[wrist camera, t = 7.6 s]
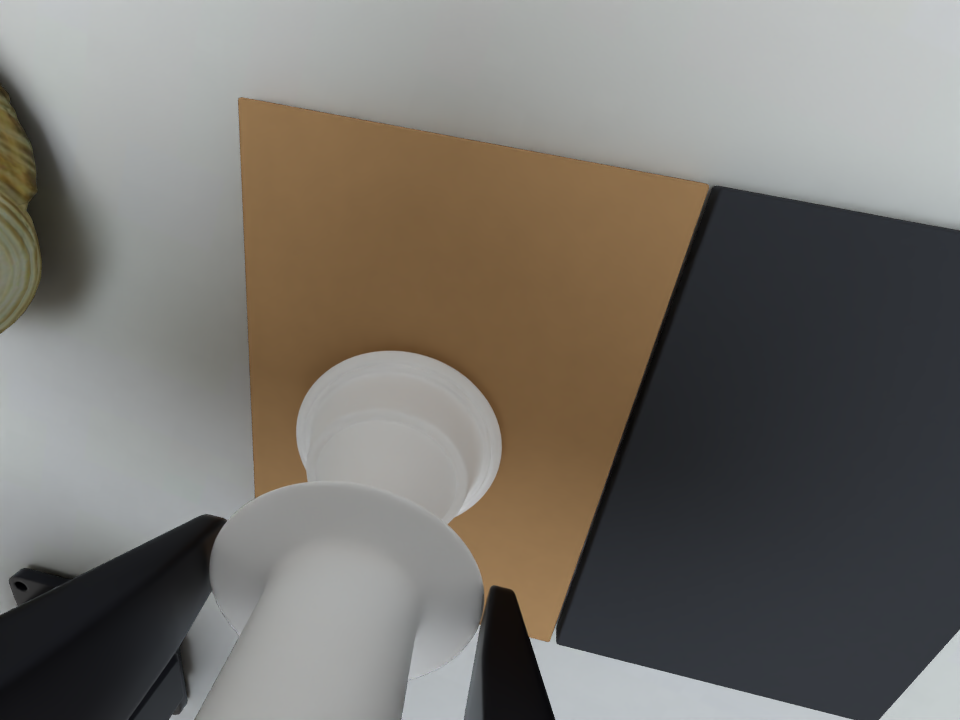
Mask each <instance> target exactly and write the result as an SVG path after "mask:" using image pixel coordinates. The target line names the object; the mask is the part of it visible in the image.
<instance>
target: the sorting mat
mask: <svg viewBox="0 0 960 720" xmlns="http://www.w3.org/2000/svg"><path fill="white" fill-rule="evenodd" d="M238 107H239V131H240V155H241V178H242V202H243V225H244V249H245V272H246V296H247V319H248V343H249V366H250V390H251V414H252V437H253V461H254V484H255V498H257V497H259V496H261V495H263V494H265V493H267V492H270V491H272V490H275V489H278V488H281V487H285V486H289V485H293V484H298V483H304V482H308V480H307V473H306V469H305V467H304V465H303V463H302V460H301V457H300V454H299V451H298V446H297V439H296V425H297V418H298V413H299V410H300V407H301V404H302V402H303V400H304V398H305V396H306V394H307V392H308V391H309V389H310V388H311V387H312V385H313V384H314V383H315V382H316V381H317V380H318V379H319V378H320V377H321V376H322V375H323V374H324V373H325V372H326V371H328V370H329V369H330V368H332V367H333V366H335V365H337V364H339V363H340V362H342V361H344V360H347V359H349V358H352V357H354V356H358V355H361V354H365V353H370V352H377V351H404V352H411V353H416V354H420V355H424V356H427V357H430V358H433V359H436V360H438V361H440V362H443V363H445V364H447V365H449V366H450V367H452V368H454V369H455V370H457V371H458V372H460V373H461V374H463V375H464V376H465V377H466V378H468V379H469V380H470V381H471V382H472V383H473V384H474V385H475V386H476V387H477V388H478V389H479V390H480V391H481V393H482V394H483V395H484V396H485V398H486V399H487V401H488V402H489V404H490V406H491V407H492V409H493V411H494V414H495V416H496V418H497V421H498V424H499V428H500V433H501V440H502V453H501V460H500V465H499V469H498V472H497V474H496V477H495V479H494V481H493V483H492V484H491V486H490V488H489V489H488V490H487V492H486V493H485V494H484V496H483V497H482V498H481V499H480V500H479V501H478V502H477V503H476V504H475V505H473V506H472V507H471V508H469V509H468V510H467V511H465V512H464V513H462V514H460V515H458V516H456V517H454V518H453V519H452V520H451V521H450V522H449V523H448V524H447V525H448V526H450V527H451V528H452V529H453V530H454V531H455V532H456V533H457V535H458V536H459V537H460V538H461V539H462V540H463V542H464V543H465V544H466V546H467V547H468V549H469V550H470V552H471V554H472V555H473V557H474V559H475V561H476V563H477V565H478V568H479V570H480V573H481V577H482V581H483V587H484V609H485V605H486V601H487V597H488V593H489V589H490V587H491V586H493V585H496V586H500V587H504V588H508V589H511V590H513V591H514V593H515V595H516V598H517V601H518V604H519V607H520V610H521V613H522V617H523V620H524V623H525V626H526V629H527V632H528V635H529V637H531V638H535V639H538V640H542V641H546V642H549V641H550V639H551V636H552V633H553V630H554V628H555V625H556V622H557V619H558V616H559V613H560V611H561V608H562V605H563V602H564V599H565V596H566V593H567V591H568V588H569V585H570V582H571V579H572V576H573V574H574V571H575V568H576V565H577V562H578V559H579V556H580V554H581V551H582V548H583V545H584V542H585V539H586V537H587V534H588V531H589V528H590V525H591V522H592V520H593V517H594V514H595V511H596V508H597V505H598V502H599V500H600V497H601V494H602V491H603V488H604V485H605V483H606V480H607V477H608V474H609V471H610V468H611V465H612V463H613V460H614V457H615V454H616V451H617V448H618V446H619V443H620V440H621V437H622V434H623V431H624V428H625V426H626V423H627V420H628V417H629V414H630V411H631V409H632V406H633V403H634V400H635V397H636V394H637V391H638V389H639V386H640V383H641V380H642V377H643V374H644V372H645V369H646V366H647V363H648V360H649V357H650V354H651V352H652V349H653V346H654V343H655V340H656V337H657V335H658V332H659V329H660V326H661V323H662V320H663V317H664V315H665V312H666V309H667V306H668V303H669V300H670V298H671V295H672V292H673V289H674V286H675V283H676V281H677V278H678V275H679V272H680V269H681V266H682V263H683V261H684V258H685V255H686V252H687V249H688V246H689V244H690V241H691V238H692V235H693V232H694V229H695V226H696V224H697V221H698V218H699V215H700V212H701V209H702V207H703V204H704V201H705V198H706V195H707V192H708V189H709V185H708V184H705V183H700V182H695V181H690V180H684V179H679V178H674V177H668V176H663V175H657V174H652V173H647V172H641V171H636V170H631V169H625V168H620V167H614V166H609V165H604V164H598V163H593V162H588V161H582V160H577V159H571V158H566V157H561V156H555V155H550V154H544V153H539V152H534V151H528V150H523V149H518V148H512V147H507V146H501V145H496V144H491V143H485V142H480V141H475V140H469V139H464V138H458V137H453V136H448V135H442V134H437V133H431V132H426V131H421V130H415V129H410V128H405V127H399V126H394V125H388V124H383V123H378V122H372V121H367V120H362V119H356V118H351V117H345V116H340V115H335V114H329V113H324V112H318V111H313V110H308V109H302V108H297V107H292V106H286V105H281V104H275V103H270V102H265V101H259V100H254V99H248V98H242V97H241V98H239V99H238ZM484 609H483V613H484ZM482 617H483V614H482ZM481 621H482V618H481ZM481 621H480V625H481ZM959 630H960V231H959V230H953V229H948V228H943V227H937V226H932V225H926V224H921V223H916V222H910V221H905V220H900V219H894V218H889V217H883V216H878V215H873V214H867V213H862V212H857V211H851V210H846V209H840V208H835V207H830V206H824V205H819V204H813V203H808V202H803V201H797V200H792V199H787V198H781V197H776V196H770V195H765V194H760V193H754V192H749V191H744V190H738V189H733V188H727V187H722V186H714V187H713V188H712V191H711V193H710V196H709V199H708V202H707V205H706V208H705V210H704V213H703V216H702V219H701V222H700V224H699V227H698V230H697V233H696V236H695V239H694V241H693V244H692V247H691V250H690V253H689V256H688V258H687V261H686V264H685V267H684V270H683V272H682V275H681V278H680V281H679V284H678V287H677V289H676V292H675V295H674V298H673V301H672V303H671V306H670V309H669V312H668V315H667V318H666V320H665V323H664V326H663V329H662V332H661V335H660V337H659V340H658V343H657V346H656V349H655V351H654V354H653V357H652V360H651V363H650V366H649V368H648V371H647V374H646V377H645V380H644V382H643V385H642V388H641V391H640V394H639V397H638V399H637V402H636V405H635V408H634V411H633V414H632V416H631V419H630V422H629V425H628V428H627V430H626V433H625V436H624V439H623V442H622V445H621V447H620V450H619V453H618V456H617V459H616V462H615V464H614V467H613V470H612V473H611V476H610V478H609V481H608V484H607V487H606V490H605V493H604V495H603V498H602V501H601V504H600V507H599V509H598V512H597V515H596V518H595V521H594V524H593V526H592V529H591V532H590V535H589V538H588V541H587V543H586V546H585V549H584V552H583V555H582V557H581V560H580V563H579V566H578V569H577V572H576V574H575V577H574V580H573V583H572V586H571V589H570V591H569V594H568V597H567V600H566V603H565V605H564V608H563V611H562V614H561V617H560V620H559V622H558V625H557V628H556V642H557V644H559V645H563V646H567V647H570V648H574V649H578V650H582V651H586V652H590V653H594V654H598V655H602V656H606V657H610V658H614V659H618V660H622V661H625V662H629V663H633V664H637V665H641V666H645V667H649V668H653V669H657V670H661V671H665V672H669V673H673V674H677V675H680V676H684V677H688V678H692V679H696V680H700V681H704V682H708V683H712V684H716V685H720V686H724V687H728V688H732V689H735V690H739V691H743V692H747V693H751V694H755V695H759V696H763V697H767V698H771V699H775V700H779V701H783V702H787V703H790V704H794V705H798V706H802V707H806V708H810V709H814V710H818V711H822V712H826V713H830V714H834V715H838V716H842V717H845V718H849V719H853V720H879V719H880V718H881V717H882V716H883V714H884V713H885V712H886V711H887V710H888V709H889V708H890V707H891V705H892V704H893V703H894V702H895V701H896V700H897V699H898V698H899V697H900V695H901V694H902V693H903V692H904V691H905V690H906V689H907V688H908V687H909V685H910V684H911V683H912V682H913V681H914V680H915V679H916V678H917V676H918V675H919V674H920V673H921V672H922V671H923V670H924V669H925V668H926V666H927V665H928V664H929V663H930V662H931V661H932V660H933V659H934V658H935V656H936V655H937V654H938V653H939V652H940V651H941V650H942V649H943V648H944V646H945V645H946V644H947V643H948V642H949V641H950V640H951V639H952V637H953V636H954V635H955V634H956V633H957V632H958V631H959Z"/></svg>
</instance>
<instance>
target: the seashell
mask: <svg viewBox="0 0 960 720" xmlns="http://www.w3.org/2000/svg"><path fill="white" fill-rule="evenodd" d="M9 103H10V97H9V94H8V93H7V91H6V90H5V89H4V88H3V87H2V86H1V85H0V334H1V333H2V332H3V331H4V330H6V329H7V328H8V327H10V326H11V325H12V324H13V323H15V322H16V320H17V319H18V318H19V317H20V316H21V315H22V314H23V313H24V312H25V311H26V309H27V307H28V306H29V304H30V303H31V301H32V299H33V298H34V296H35V293H36V291H37V288H38V285H39V283H40V280H41V270H42V259H41V253H40V246H39V241H38V237H37V234H36V231H35V227H34V224H33V221H32V218H31V217H30V215H29V214H28V212H27V211H26V210H27V207H28V203H29V202H30V200H31V199H32V198H33V197H34V195H35V194H36V193H37V192H38V190H37V183H36V166H35V159H34V154H33V150H32V145H31V142H30V140H29V138H28V137H27V135H26V133H25V131H24V129H23V127H22V126H21V125H20V123H19V121H18V118H17V115H16V112H15V109H14V108H13V107H12V106H11V105H10V104H9Z"/></svg>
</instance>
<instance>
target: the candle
mask: <svg viewBox="0 0 960 720" xmlns="http://www.w3.org/2000/svg"><path fill="white" fill-rule="evenodd" d="M296 439H297V446H298V451H299V454H300V457H301V460H302V463H303V465H304V467H305V469H306V473H307V480H308V482H304V483H298V484H293V485H289V486H285V487H281V488H278V489H275V490H272V491H270V492H267V493H265V494H263V495H261V496H259V497H257V498H255V499H253V500H251V501H250V502H248V503H247V504H245V505H244V506H243V507H241V508H240V509H239V510H238V511H237V512H235V513H234V514H233V515H232V516H231V517H230V518H229V520H228V521H227V522H226V523H225V524H224V526H223V527H222V529H221V530H220V532H219V534H218V536H217V538H216V540H215V542H214V545H213V548H212V551H211V556H210V564H209V574H210V582H211V587H212V591H213V594H214V597H215V600H216V602H217V604H218V606H219V608H220V610H221V612H222V614H223V615H224V617H225V618H226V620H227V621H228V623H229V624H230V625H231V626H232V628H233V629H234V630H235V631H236V632H237V633H238V634H239V635H240V636H239V638H238V640H237V642H236V644H235V645H234V647H233V649H232V651H231V653H230V655H229V657H228V658H227V660H226V662H225V664H224V666H223V668H222V670H221V671H220V673H219V675H218V677H217V679H216V681H215V682H214V684H213V686H212V688H211V690H210V692H209V694H208V695H207V697H206V699H205V701H204V703H203V705H202V707H201V708H200V710H199V712H198V714H197V716H196V718H195V719H194V720H401V717H402V712H403V706H404V700H405V694H406V688H407V682H408V680H411V679H414V678H418V677H420V676H423V675H426V674H428V673H430V672H432V671H434V670H436V669H438V668H440V667H442V666H443V665H445V664H447V663H448V662H449V661H451V660H452V659H453V658H455V657H456V656H457V655H458V654H459V653H460V652H461V651H462V650H463V649H464V648H465V647H466V646H467V644H468V643H469V642H470V641H471V639H472V638H473V636H474V634H475V633H476V631H477V629H478V626H479V624H480V621H481V618H482V614H483V609H484V587H483V581H482V577H481V573H480V570H479V568H478V565H477V563H476V561H475V559H474V557H473V555H472V554H471V552H470V550H469V549H468V547H467V546H466V544H465V543H464V542H463V540H462V539H461V538H460V537H459V536H458V535H457V533H456V532H455V531H454V530H453V529H452V528H451V527H450V526H448V525H447V524H448V523H449V522H450V521H451V520H452V519H453V518H454V517H456V516H458V515H460V514H462V513H464V512H465V511H467V510H468V509H469V508H471V507H472V506H473V505H475V504H476V503H477V502H478V501H479V500H480V499H481V498H482V497H483V496H484V494H485V493H486V492H487V490H488V489H489V488H490V486H491V484H492V483H493V481H494V479H495V477H496V474H497V472H498V469H499V465H500V460H501V453H502V440H501V433H500V428H499V424H498V421H497V418H496V416H495V414H494V411H493V409H492V407H491V406H490V404H489V402H488V401H487V399H486V398H485V396H484V395H483V394H482V393H481V391H480V390H479V389H478V388H477V387H476V386H475V385H474V384H473V383H472V382H471V381H470V380H469V379H468V378H466V377H465V376H464V375H463V374H461V373H460V372H458V371H457V370H455V369H454V368H452V367H450V366H449V365H447V364H445V363H443V362H440V361H438V360H436V359H433V358H430V357H427V356H424V355H420V354H416V353H411V352H404V351H377V352H370V353H365V354H361V355H358V356H354V357H352V358H349V359H347V360H344V361H342V362H340V363H339V364H337V365H335V366H333V367H332V368H330V369H329V370H328V371H326V372H325V373H324V374H323V375H322V376H321V377H320V378H319V379H318V380H317V381H316V382H315V383H314V384H313V385H312V387H311V388H310V389H309V391H308V392H307V394H306V396H305V398H304V400H303V402H302V404H301V407H300V410H299V413H298V418H297V425H296Z"/></svg>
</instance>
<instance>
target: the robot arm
mask: <svg viewBox="0 0 960 720" xmlns="http://www.w3.org/2000/svg"><path fill="white" fill-rule="evenodd" d="M226 522H227V520H226V519H224V518H221V517H217V516H213V515H208V514H205V515H201V516H198V517H196V518H194V519H192V520H190V521H188V522H186V523H184V524H182V525H180V526H178V527H176V528H174V529H172V530H170V531H168V532H166V533H164V534H162V535H160V536H158V537H156V538H154V539H152V540H150V541H148V542H146V543H144V544H142V545H140V546H138V547H136V548H134V549H132V550H130V551H128V552H126V553H124V554H122V555H120V556H118V557H116V558H114V559H112V560H110V561H108V562H106V563H104V564H102V565H100V566H98V567H96V568H94V569H92V570H90V571H88V572H86V573H84V574H82V575H80V576H78V577H76V578H74V579H72V580H70V579H66V578H62V577H58V576H54V575H51V574H47V573H43V572H39V571H35V570H32V569H27V568H23V569H21V570H20V571H18V572H17V573H16V574H14V575H13V576H12V577H11V578H10V579H9V584H10V586H11V589H12V592H13V595H14V598H15V600H16V603H17V606H18V607H16V608H14V609H12V610H10V611H8V612H6V613H4V614H2V615H0V720H169V718H170V717H171V715H172V714H173V715H177V714H180V713H181V711H182V710H183V708H184V707H185V705H186V704H187V701H188V700H187V694H186V687H185V681H184V675H183V668H182V662H181V655H180V649H179V646H180V644H181V642H182V641H183V639H184V638H185V636H186V634H187V632H188V631H189V629H190V627H191V626H192V624H193V622H194V620H195V619H196V617H197V615H198V614H199V612H200V610H201V608H202V607H203V605H204V603H205V602H206V600H207V598H208V596H209V595H210V593H211V591H212V587H211V582H210V574H209V564H210V556H211V551H212V548H213V545H214V542H215V540H216V538H217V536H218V534H219V532H220V530H221V529H222V527H223V526H224V524H225V523H226ZM464 720H555V717H554V714H553V711H552V708H551V705H550V702H549V698H548V695H547V692H546V689H545V686H544V683H543V680H542V676H541V673H540V670H539V667H538V664H537V661H536V658H535V654H534V651H533V648H532V645H531V642H530V639H529V635H528V632H527V629H526V626H525V623H524V620H523V617H522V613H521V610H520V607H519V604H518V601H517V598H516V595H515V593H514V591H513V590H511V589H508V588H504V587H500V586H496V585H493V586H491V587H490V589H489V593H488V597H487V601H486V605H485V609H484V613H483V617H482V621H481V626H480V631H479V637H478V642H477V648H476V654H475V659H474V665H473V670H472V676H471V682H470V687H469V693H468V698H467V704H466V709H465V716H464Z"/></svg>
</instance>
